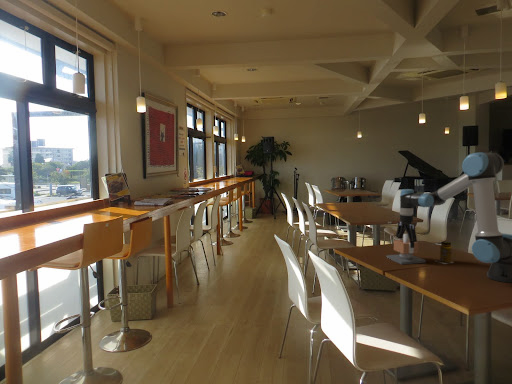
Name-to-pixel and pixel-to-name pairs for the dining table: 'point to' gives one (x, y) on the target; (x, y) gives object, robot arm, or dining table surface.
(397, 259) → the post stand
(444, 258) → the condiment
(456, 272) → the dining table surface
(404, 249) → the collar
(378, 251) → the dining table surface
